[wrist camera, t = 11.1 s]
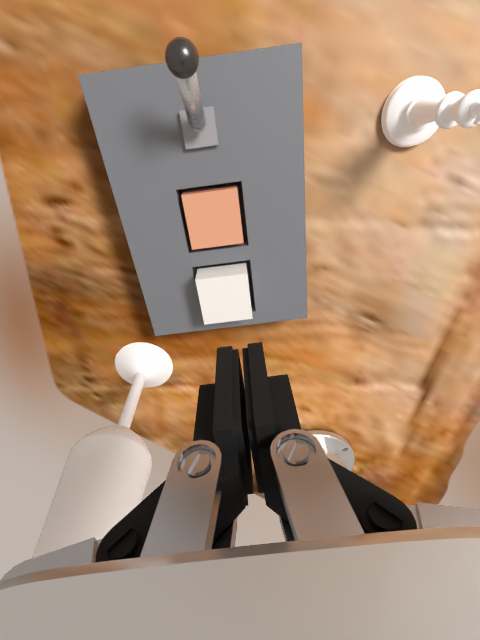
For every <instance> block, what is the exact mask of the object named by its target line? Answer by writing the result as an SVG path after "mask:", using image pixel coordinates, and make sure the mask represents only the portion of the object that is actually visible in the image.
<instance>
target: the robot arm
mask: <svg viewBox="0 0 480 640" xmlns="http://www.w3.org/2000/svg"><path fill="white" fill-rule="evenodd" d="M242 351H243V367H244V382H243V376H242V370H241V364H240V358H239V352H238V349H235V350H233V349H232V346H228V347H220V348H217V359H216V378H215V383H214V384H206V385H200V388H199V395H198V404H197V413H196V421H195V430H194V439H193V442H191V443H188V444H186V445H185V446H183V447H182V448H181V449H180V450H179V451H178V452H177V453H176V455H175V457H174V459H173V461H172V464H171V467H170V470H169V473H168V476H167V478H166V480H165V481H164V482H163V483H162V484H161V485H160V486H159V487H158V488H157V489H155V490H154V491H153V492H152V493H151V494H150V495H149V496H147V497H146V498H145V499H144V500H143V501H142V502H141V503H140V504H138V505H137V506H136V507H135V508H134V509H133V510H132V511H131V512H129V513H128V514H127V515H126V516H125V517H124V518H123V519H122V520H120V521H119V522H118V523H117V524H116V525H115V526H114V527H113V528H111V529H110V531H109V532H108V533H107V534H106V535H105V536H104V538H102V539H99V540H96V539H95V537H93V538H90V539H87V540H84V541H81V542H78V543H76V544H73V545H70V546H67V547H64V548H61V549H58V550H55V551H52V552H50V553H47V554H44V555H41V556H38V557H35V558H32V559H29V560H27V561H24V562H22V563H20V564H18V565H16V566H15V567H13V568H12V569H11V570H10V571H9V572H8V573H6V574H5V576H4V577H3V578H2V579H1V580H0V640H480V510H479V509H471V508H462V507H454V506H444V505H436V504H428V503H419V502H417V504H416V506H411V505H405V504H404V503H403V502H401V501H400V500H399V499H397V498H396V497H394V496H393V495H391V494H389V493H387V492H386V491H384V490H382V489H381V488H379V487H377V486H375V485H374V484H372V483H370V482H369V481H367V480H365V479H363V478H362V477H360V476H358V475H357V474H355V473H353V472H351V470H352V468H353V465H354V461H355V459H354V453H353V450H352V448H351V446H350V444H349V443H348V442H347V441H346V440H345V439H344V438H343V437H341V436H340V435H338V434H335V433H332V432H328V431H323V430H309V431H304V430H301V427H300V423H299V419H298V415H297V410H296V406H295V402H294V398H293V394H292V390H291V386H290V382H289V378H288V375H278V376H270V377H267V371H266V365H265V358H264V352H263V346H262V342H259V343H251V344H248V348H243V349H242ZM244 383H245V388H244ZM250 446H251V447H250ZM251 451H252V457H253V463H254V469H255V474H256V480H257V486H258V492H259V493H264V494H265V501H266V505H267V506H268V507H269V508H270V509H272V510H273V511H274V512H275V513H277V514H278V515H279V518H280V523H281V527H282V530H283V534H284V537H285V540H286V542H279V543H269V544H260V545H250V546H241V547H234V546H235V539H236V530H237V517H238V515H239V514H240V513H241V512H242V511H243V510H244V509H245V506H246V505H248V497H247V496H248V495H247V494H253V493H254V492H253V476H252V462H251Z"/></svg>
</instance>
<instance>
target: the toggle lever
mask: <svg viewBox="0 0 480 640" xmlns="http://www.w3.org/2000/svg"><path fill="white" fill-rule="evenodd" d="M165 60H166V64H167V67H168V69H169V70H170V72H171V73H172V74H173V75H174V76H175V77H176V80H177V84H178V87H179V91H180V94H181V98H182V102H183V105H184V109H185V112H186V116H187V120H188V123H189V126H190V128H191V129H192V130H193V131H195V132H201V131H203V130H204V128H205V127H206V118H205V113H204V109H203V104H202V99H201V94H200V89H199V84H198V79H197V74H196V71H197V68H198V64H199V56H198V52H197V49H196V47H195V46H194V44H193V43H192V42H191V41H190V40H189V39H187V38H184V37H176V38H174V39H172V40H171V41H170V42H169V44H168V45H167V48H166V51H165Z"/></svg>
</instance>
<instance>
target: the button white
mask: <svg viewBox="0 0 480 640" xmlns="http://www.w3.org/2000/svg"><path fill="white" fill-rule="evenodd" d="M195 282H196V286H197V291H198V296H199V301H200V306H201V311H202V316H203V321H204V325H205V324H214V323H222V322H230V321H238V320H247V319H253V317H252V308H251V300H250V291H249V283H248V274H247V267H246V263H240V264H232V265H224V266H216V267H208V268H200V269H197V273H196V278H195Z"/></svg>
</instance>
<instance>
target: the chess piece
mask: <svg viewBox="0 0 480 640" xmlns="http://www.w3.org/2000/svg"><path fill="white" fill-rule="evenodd" d="M456 125H459V126H461V127H463V128H472V127H475V126H477V125H478V126H480V89H476V90H473V91H471V92H469V93H467V94H466V95H464V94H463V93H461V92H458V91H454V92H450V93H448V94H446V95H445V92H444V89H443V87H442V86H441V84H440V83H439V82H438V81H437V80H435V79H433V78H431V77H428V76H414V77H410V78H408V79H406V80H404V81H402V82H401V83H400V84H398V85H397V86H396V87H395V88H394V89H393V90H392V92H391V93H390V94H389V96H388V98H387V99H386V102H385V104H384V107H383V110H382V115H381V126H382V131H383V133H384V135H385V137H386V139H387V140H388V141H389V142H390V143H392V144H393V145H395V146H398V147H411V146H415V145H418V144H420V143H422V142H424V141H425V140H427V139H428V138H429V137H430V136H432V135H433V133H434V132H435V131H436V130H437V128H438V127H440V128H442V129H450V128H452V127H454V126H456Z"/></svg>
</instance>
